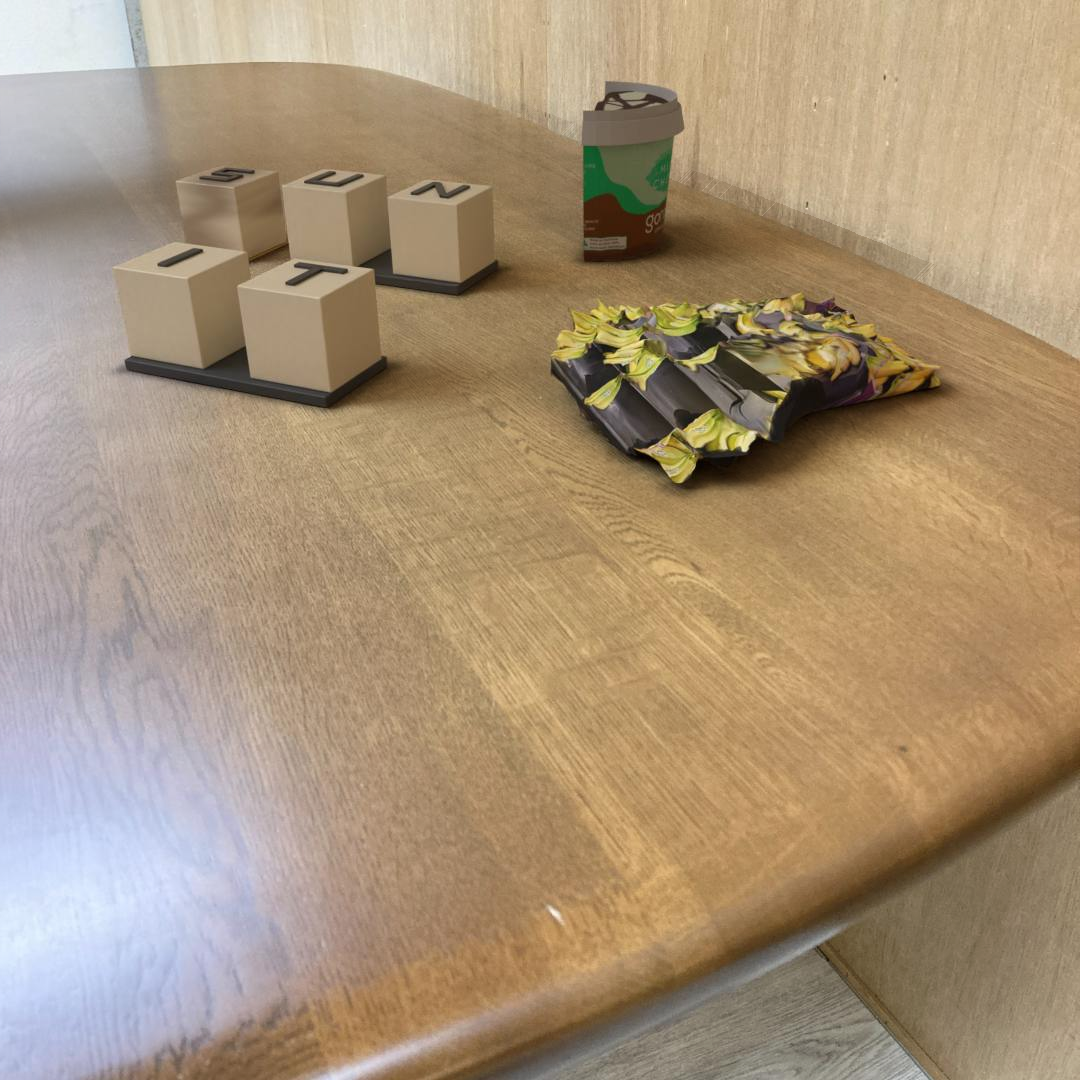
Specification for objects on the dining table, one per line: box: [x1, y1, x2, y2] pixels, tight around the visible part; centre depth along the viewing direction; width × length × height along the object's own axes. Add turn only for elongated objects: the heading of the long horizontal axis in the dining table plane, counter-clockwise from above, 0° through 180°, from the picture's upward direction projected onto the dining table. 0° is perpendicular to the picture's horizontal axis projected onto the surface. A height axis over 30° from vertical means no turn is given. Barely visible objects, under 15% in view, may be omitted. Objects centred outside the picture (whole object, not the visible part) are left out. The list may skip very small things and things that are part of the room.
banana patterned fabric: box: [549, 292, 941, 484], centre depth 58 cm, size 20×16×7 cm
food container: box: [581, 80, 685, 262], centre depth 79 cm, size 12×6×10 cm, turn 170°
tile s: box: [175, 165, 288, 259], centre depth 80 cm, size 5×5×5 cm
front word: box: [112, 241, 388, 408], centre depth 61 cm, size 13×6×6 cm, turn 66°
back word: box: [248, 168, 499, 296], centre depth 77 cm, size 22×6×6 cm, turn 66°
